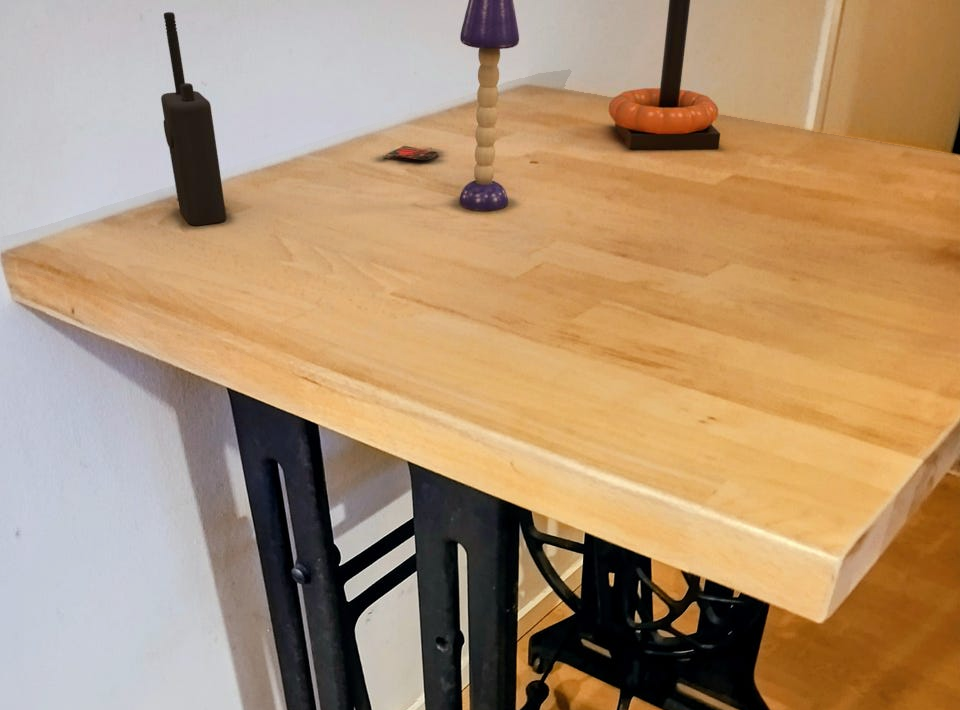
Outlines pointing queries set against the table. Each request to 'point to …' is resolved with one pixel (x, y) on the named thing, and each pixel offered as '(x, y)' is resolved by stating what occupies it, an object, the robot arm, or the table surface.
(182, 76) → the walkie-talkie
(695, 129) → the ring
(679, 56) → the stand
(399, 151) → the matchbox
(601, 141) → the table surface
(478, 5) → the toy lamp
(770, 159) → the table surface
